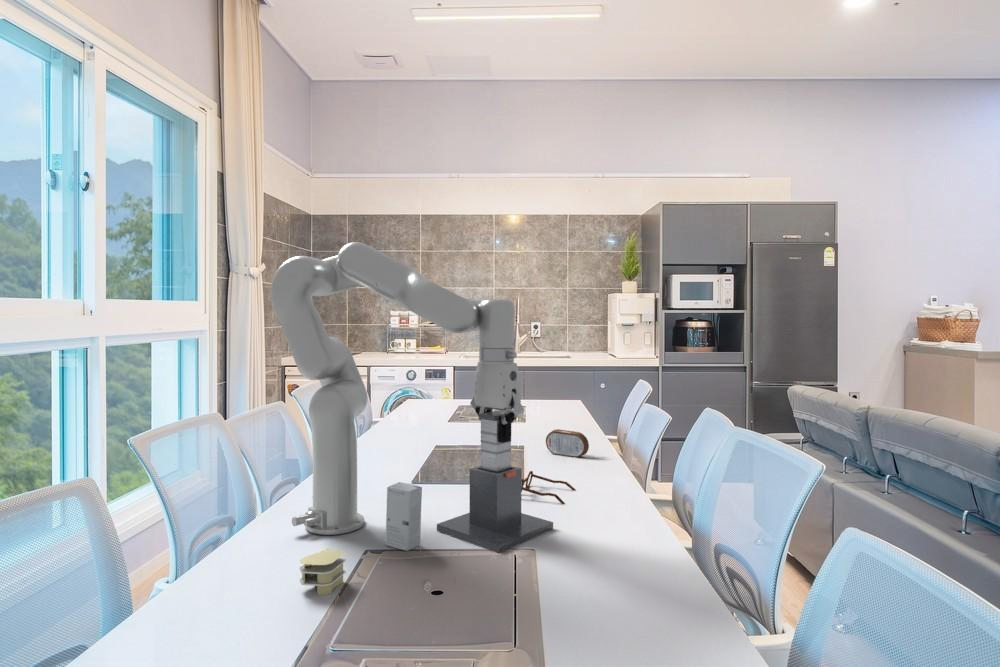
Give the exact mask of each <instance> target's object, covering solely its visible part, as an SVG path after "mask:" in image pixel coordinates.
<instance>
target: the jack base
mask: <svg viewBox="0 0 1000 667" xmlns="http://www.w3.org/2000/svg"><path fill="white" fill-rule="evenodd" d="M522 472H523V471H522V468H521V467H517V466H514V465H513V466H512V465H511V470H508V471H504V472H501V473H498V474H496V473H492V472H488V471H484V470H481V465H479V466H475V467H472V468H469V512H468V513H465V514H461V515H459V516H456V517H453V518H451V519H447V520H445V521H441V522H439V523H436V531H437V532H438V533H442V534H444V535H447V536H449V537H453V538H456V539H459V540H461V541H465V542H467V543H471V544H473V545H476V546H479V547H481V548H484V549H487V550H490V551H493V552H495V551H496V552H495V553H498V552H500V553H501V551H502V552H504V551H506V550H508V549H511V548H513V547H516V546H517V545H520V544H522V543H525V542H526V541H530V540H532V539H533V538H536V537H538V536H540V535H543V534H545V533H547V532H549V531H550V532H551V530H554V522H553V521H550V520H546V519H544V518H540V517H536V516H533V515H530V514H525V513H523V512H522V492H521V486H522V482H521V479H523V478H522V475H523V473H522Z"/></svg>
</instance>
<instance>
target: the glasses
mask: <svg viewBox="0 0 1000 667" xmlns="http://www.w3.org/2000/svg"><path fill="white" fill-rule="evenodd" d="M533 478H535V479H540V480H543V481H546V482H549V483H553V484H563V485H566V486H567V487H568V488H569V489H571V491H576V490H577V489H576V488H575V487H573V485H571V484H570V483H568V481H563V480H553V479H550V478H547V477H544V476H541V475H537V474H534V471H532V470H530V471H528V474H527V477H526V478H522V479H521V493H522V492H523V491H525V492H529V493H532V494H534V495H538V496H541V497H543V496H549V497H555V499H557V501H558V502H559V503H560V504H562V505H565V504H566V503H565V501H563V499H562V498H561V497H560V496H559V495H558V494H556V493H551V492H540V491H536V490H533V489H530V488H529V487H530V486H531V484H532V480H533ZM524 485H525V487H524Z"/></svg>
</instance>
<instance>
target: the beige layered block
mask: <svg viewBox="0 0 1000 667" xmlns="http://www.w3.org/2000/svg"><path fill="white" fill-rule="evenodd" d="M345 553H346V551H341V550H337V549H331V548H327V549H324V550H321V551H318V552H314V553H312V554H310V555H306V556H304V557H302V558H301V559H299V562H300V564H302V565H301V566H299V570H300V572H301V578H300V579H299V583H300V584H301V585H302V586H312V587H316V589H317V590H316V592H317V594H318V595H329V594H331V593H332V592H334V591H333V590H334V589H335V588H336V587H337V586H339V585H341V584H342V583H344V575H345V574H346V570H344V563H345V562H346V560H347V559H346V558H341V557H342V556H343V555H344V554H345Z"/></svg>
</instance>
